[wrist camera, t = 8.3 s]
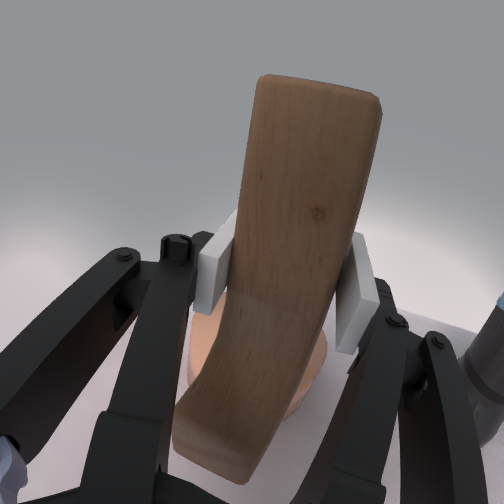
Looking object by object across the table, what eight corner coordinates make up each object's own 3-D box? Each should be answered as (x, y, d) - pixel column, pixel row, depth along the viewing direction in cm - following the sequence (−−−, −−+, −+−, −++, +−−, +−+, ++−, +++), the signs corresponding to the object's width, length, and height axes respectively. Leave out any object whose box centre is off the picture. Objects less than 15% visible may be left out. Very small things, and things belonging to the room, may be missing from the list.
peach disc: (309, 352, 42) (328, 309, 39) (297, 440, 29) (323, 402, 25) (209, 322, 44) (216, 277, 40) (167, 401, 31) (167, 356, 27)
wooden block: (243, 489, 13) (376, 63, 4) (171, 452, 14) (174, 46, 6) (299, 384, 20) (384, 106, 12) (242, 360, 21) (292, 86, 13)
